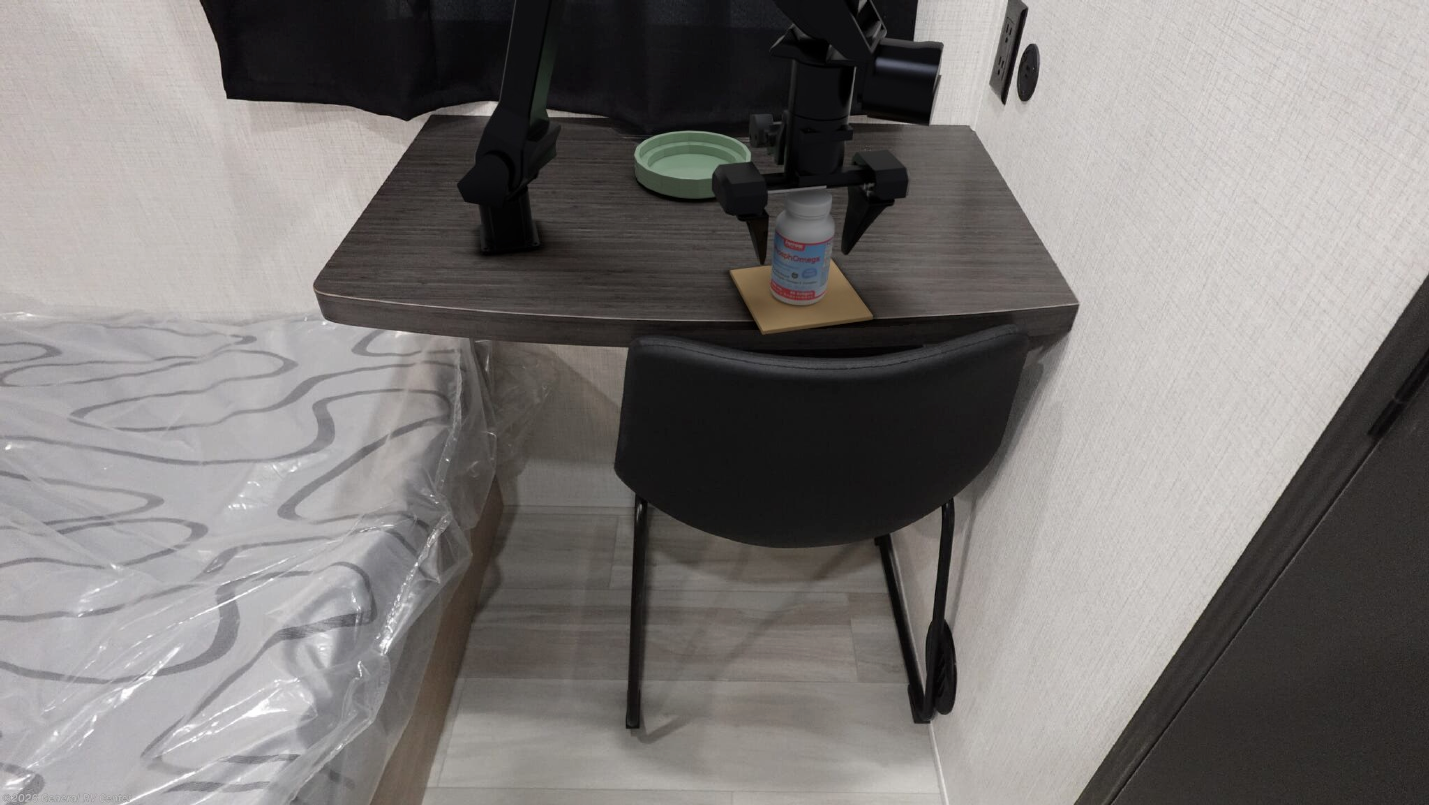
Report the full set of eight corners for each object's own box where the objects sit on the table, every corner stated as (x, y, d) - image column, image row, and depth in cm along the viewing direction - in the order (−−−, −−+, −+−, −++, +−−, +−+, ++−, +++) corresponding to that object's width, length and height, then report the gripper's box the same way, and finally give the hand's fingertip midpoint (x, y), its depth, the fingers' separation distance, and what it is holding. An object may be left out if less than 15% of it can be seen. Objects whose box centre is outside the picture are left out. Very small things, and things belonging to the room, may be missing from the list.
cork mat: (872, 319, 87) (873, 315, 86) (762, 334, 84) (762, 330, 84) (830, 261, 95) (831, 257, 95) (729, 273, 93) (729, 269, 93)
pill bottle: (761, 299, 88) (769, 201, 81) (779, 272, 92) (788, 176, 85) (817, 313, 86) (829, 214, 79) (832, 284, 91) (846, 188, 84)
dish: (764, 196, 108) (765, 172, 106) (648, 207, 104) (647, 183, 102) (731, 148, 119) (732, 126, 117) (626, 157, 116) (625, 135, 114)
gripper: (877, 73, 85) (856, 213, 95) (698, 85, 81) (696, 230, 91) (926, 114, 77) (897, 263, 87) (730, 129, 72) (724, 284, 82)
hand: (802, 258), depth 87 cm, fingers open, 9 cm apart
